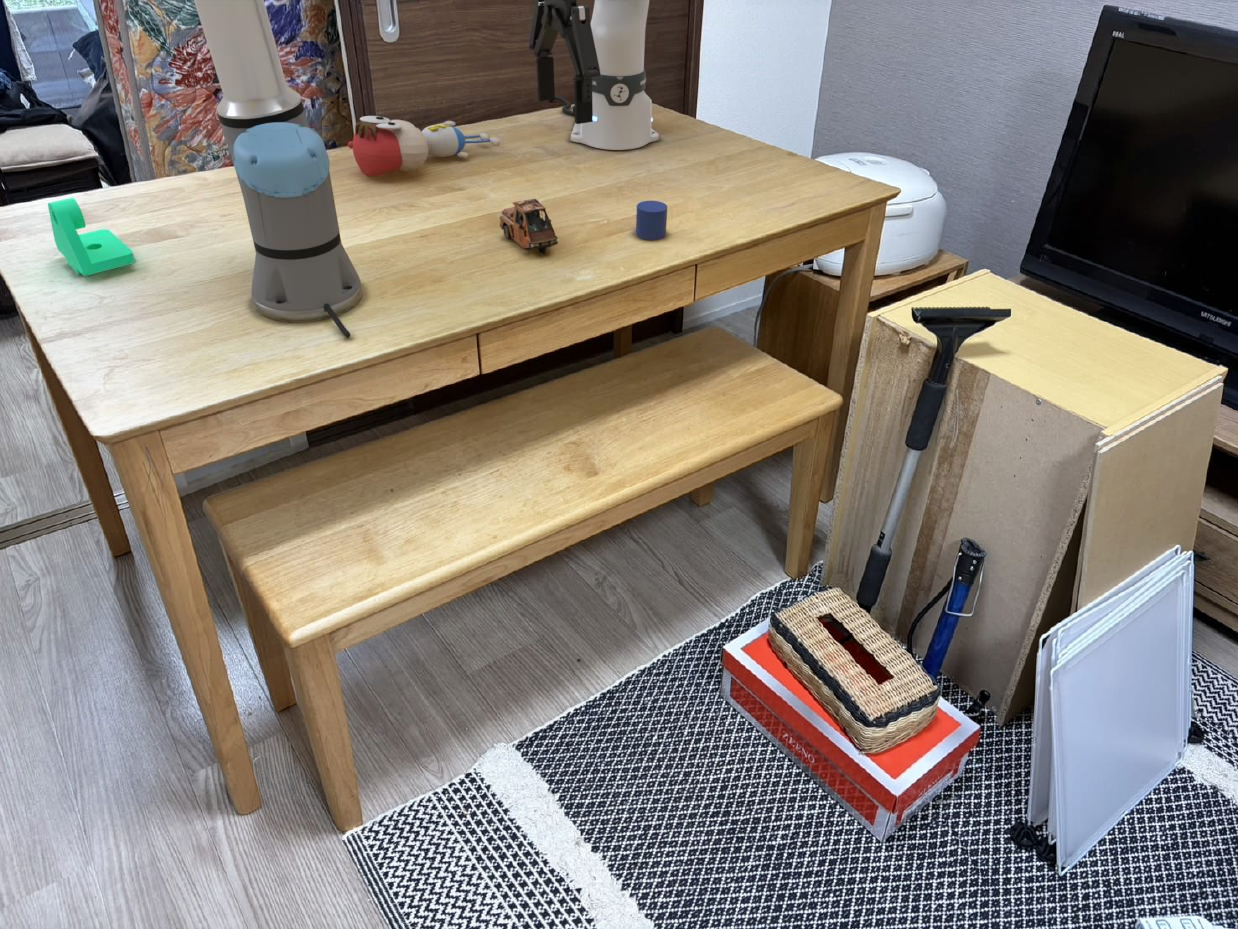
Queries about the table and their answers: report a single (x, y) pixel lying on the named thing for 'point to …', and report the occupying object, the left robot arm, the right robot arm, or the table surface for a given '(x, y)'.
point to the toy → (405, 144)
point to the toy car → (528, 225)
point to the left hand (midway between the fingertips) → (564, 110)
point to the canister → (651, 220)
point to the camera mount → (85, 241)
